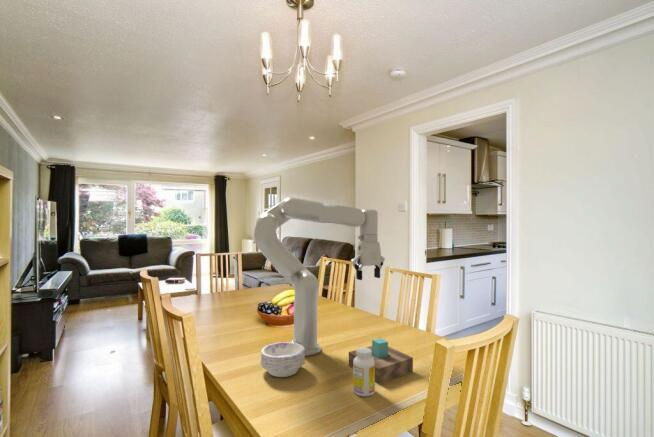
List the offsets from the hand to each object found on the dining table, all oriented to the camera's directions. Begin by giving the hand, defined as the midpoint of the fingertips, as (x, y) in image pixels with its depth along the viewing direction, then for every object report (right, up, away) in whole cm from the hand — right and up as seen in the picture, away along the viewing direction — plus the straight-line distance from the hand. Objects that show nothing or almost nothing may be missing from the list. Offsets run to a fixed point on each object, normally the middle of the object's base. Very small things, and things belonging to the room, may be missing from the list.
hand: (368, 278), depth 141 cm
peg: (+1, -28, -23) cm, 36 cm away
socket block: (+1, -28, -23) cm, 36 cm away
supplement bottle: (-6, -28, -39) cm, 48 cm away
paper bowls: (-33, -28, -25) cm, 50 cm away
